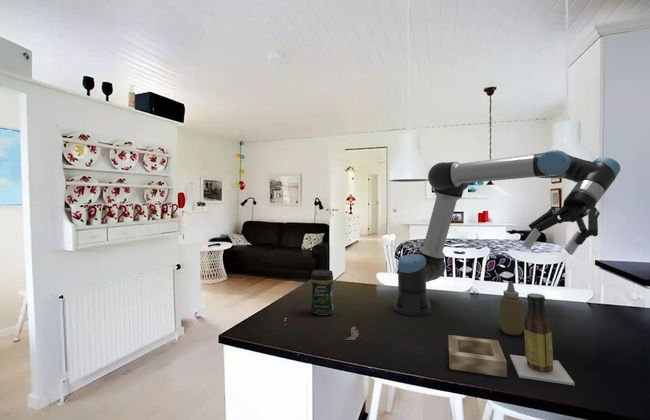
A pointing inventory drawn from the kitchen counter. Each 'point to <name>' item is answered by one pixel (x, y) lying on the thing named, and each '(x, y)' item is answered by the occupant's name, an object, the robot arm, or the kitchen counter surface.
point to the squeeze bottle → (511, 312)
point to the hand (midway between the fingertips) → (545, 248)
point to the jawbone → (353, 334)
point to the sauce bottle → (538, 335)
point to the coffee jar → (322, 292)
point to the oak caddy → (477, 356)
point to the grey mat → (554, 376)
